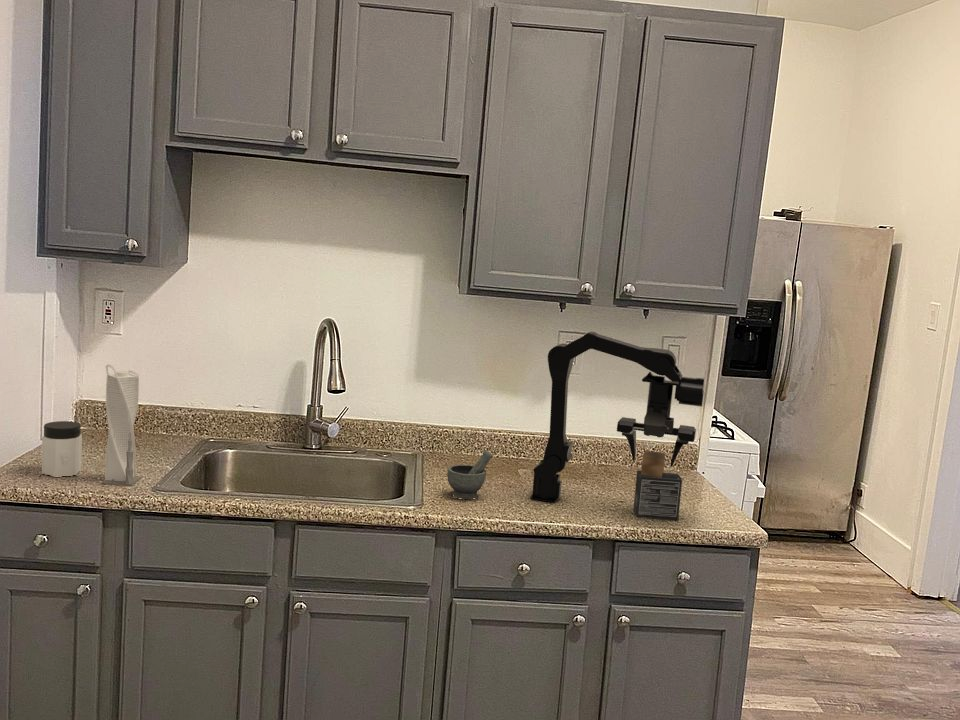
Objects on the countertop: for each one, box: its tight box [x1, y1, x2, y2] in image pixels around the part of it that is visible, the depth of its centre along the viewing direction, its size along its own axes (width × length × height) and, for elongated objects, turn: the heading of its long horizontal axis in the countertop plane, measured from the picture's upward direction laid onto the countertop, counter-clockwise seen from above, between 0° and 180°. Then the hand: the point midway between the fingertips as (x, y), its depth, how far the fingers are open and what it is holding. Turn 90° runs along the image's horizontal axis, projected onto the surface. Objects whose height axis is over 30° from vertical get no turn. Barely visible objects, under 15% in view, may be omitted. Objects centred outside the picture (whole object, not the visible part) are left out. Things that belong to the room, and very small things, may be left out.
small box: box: [632, 470, 683, 521], centre depth 232 cm, size 11×6×10 cm, turn 88°
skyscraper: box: [101, 364, 143, 487], centre depth 223 cm, size 8×8×28 cm
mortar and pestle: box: [446, 449, 494, 500], centre depth 235 cm, size 11×9×12 cm
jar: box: [41, 420, 83, 476], centre depth 226 cm, size 9×8×12 cm
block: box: [640, 450, 666, 478], centre depth 231 cm, size 5×5×5 cm
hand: (652, 463), depth 231 cm, fingers open, 9 cm apart
